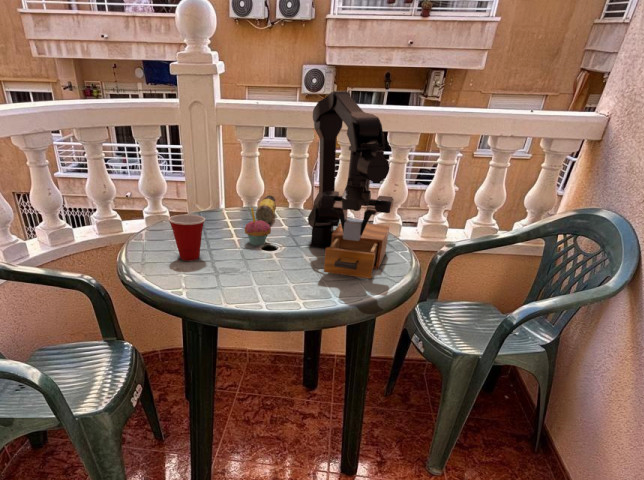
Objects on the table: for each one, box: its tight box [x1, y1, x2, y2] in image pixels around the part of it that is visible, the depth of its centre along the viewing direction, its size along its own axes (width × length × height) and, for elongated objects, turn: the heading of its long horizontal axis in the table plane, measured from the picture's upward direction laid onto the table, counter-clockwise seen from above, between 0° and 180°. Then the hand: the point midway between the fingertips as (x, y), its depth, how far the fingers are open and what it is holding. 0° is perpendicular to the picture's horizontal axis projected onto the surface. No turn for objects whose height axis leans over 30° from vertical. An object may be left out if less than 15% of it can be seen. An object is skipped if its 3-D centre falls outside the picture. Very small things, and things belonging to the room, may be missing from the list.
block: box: [343, 217, 363, 241], centre depth 133 cm, size 4×4×4 cm
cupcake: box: [244, 205, 272, 246], centre depth 156 cm, size 9×8×12 cm
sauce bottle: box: [255, 195, 277, 224], centre depth 180 cm, size 6×6×20 cm
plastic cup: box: [167, 214, 206, 262], centre depth 145 cm, size 11×11×12 cm
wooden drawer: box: [323, 237, 379, 279], centre depth 137 cm, size 17×13×7 cm
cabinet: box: [331, 222, 391, 270], centre depth 147 cm, size 14×15×9 cm
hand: (352, 233), depth 134 cm, fingers closed on block, 4 cm apart
